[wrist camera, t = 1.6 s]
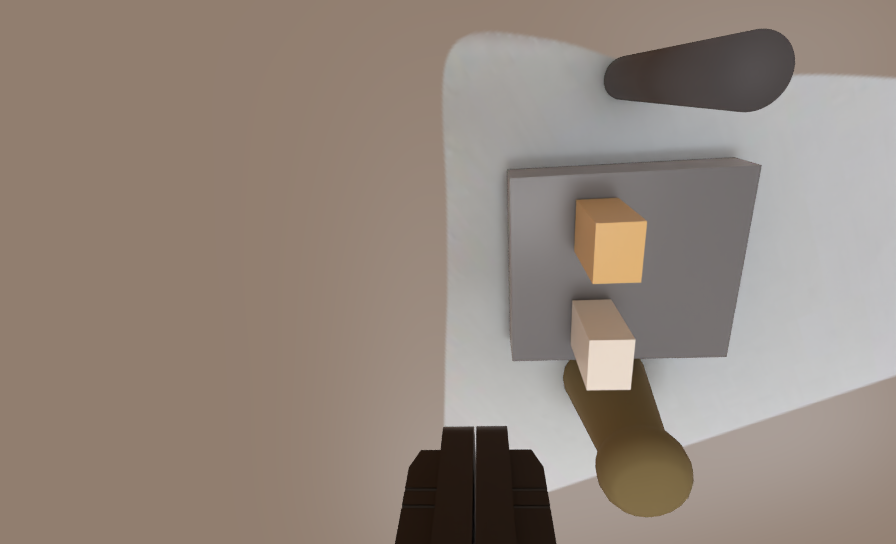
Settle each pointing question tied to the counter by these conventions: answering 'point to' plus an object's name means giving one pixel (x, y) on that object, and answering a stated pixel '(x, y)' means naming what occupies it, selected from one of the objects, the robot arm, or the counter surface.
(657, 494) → the olive knobbed post
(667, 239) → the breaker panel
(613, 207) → the block
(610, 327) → the cream rectangular block
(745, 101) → the post
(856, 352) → the counter surface
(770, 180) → the counter surface
